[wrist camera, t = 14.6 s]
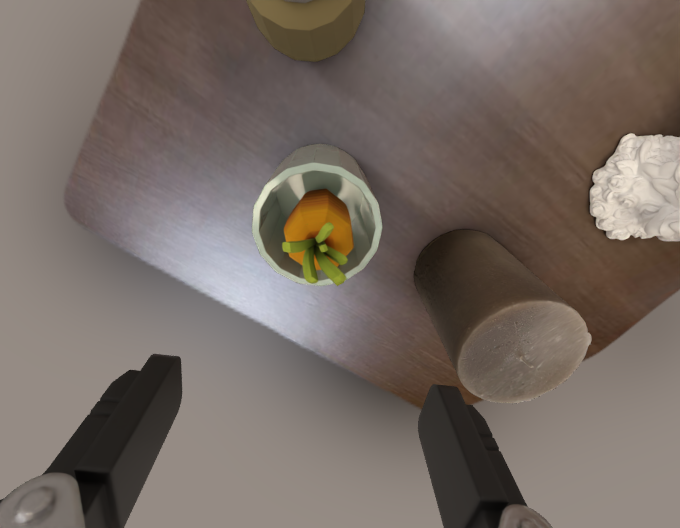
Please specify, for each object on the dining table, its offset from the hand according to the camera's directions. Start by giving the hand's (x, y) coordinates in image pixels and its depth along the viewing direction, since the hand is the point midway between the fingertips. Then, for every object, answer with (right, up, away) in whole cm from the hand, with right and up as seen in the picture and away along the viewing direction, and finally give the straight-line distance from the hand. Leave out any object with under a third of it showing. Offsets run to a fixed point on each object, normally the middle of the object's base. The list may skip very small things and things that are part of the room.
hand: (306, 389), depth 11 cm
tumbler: (-1, +11, +22) cm, 25 cm away
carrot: (-1, +10, +22) cm, 24 cm away
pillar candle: (+14, +3, +26) cm, 30 cm away
